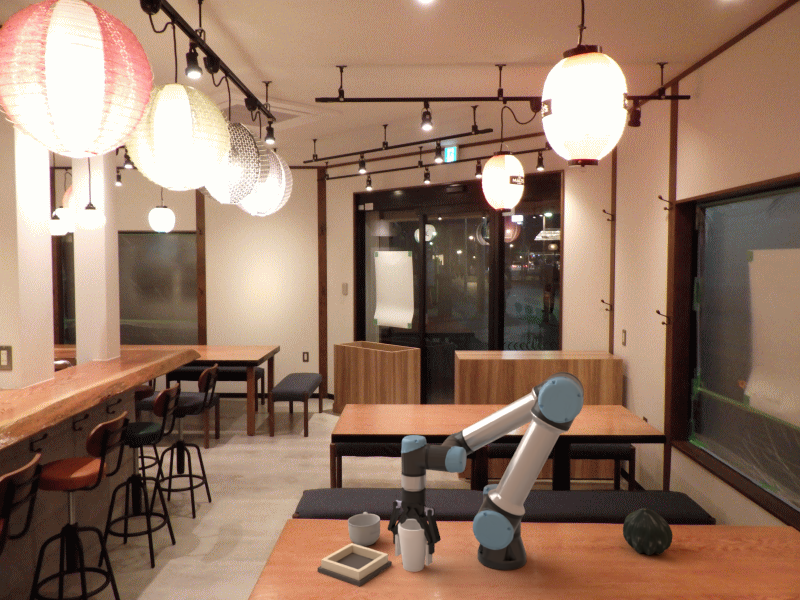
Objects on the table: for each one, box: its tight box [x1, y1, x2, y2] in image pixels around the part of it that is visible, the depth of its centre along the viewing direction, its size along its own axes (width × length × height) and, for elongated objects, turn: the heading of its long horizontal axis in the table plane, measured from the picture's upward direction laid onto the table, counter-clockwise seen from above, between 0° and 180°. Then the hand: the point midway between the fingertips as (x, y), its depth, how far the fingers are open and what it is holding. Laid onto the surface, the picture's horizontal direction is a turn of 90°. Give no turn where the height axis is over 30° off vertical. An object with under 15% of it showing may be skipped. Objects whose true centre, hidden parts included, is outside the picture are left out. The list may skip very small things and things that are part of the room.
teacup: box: [347, 511, 381, 547], centre depth 209 cm, size 14×11×8 cm
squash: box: [622, 507, 674, 556], centre depth 202 cm, size 14×15×15 cm
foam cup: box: [398, 518, 427, 573], centre depth 190 cm, size 10×9×13 cm
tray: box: [317, 542, 393, 587], centre depth 189 cm, size 16×16×4 cm
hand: (413, 559), depth 190 cm, fingers open, 10 cm apart
